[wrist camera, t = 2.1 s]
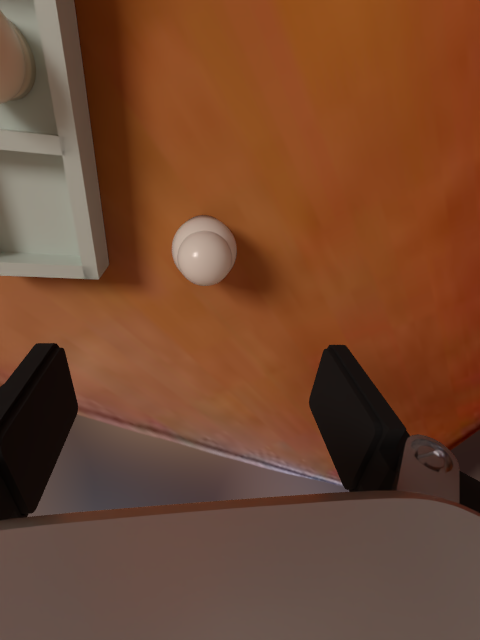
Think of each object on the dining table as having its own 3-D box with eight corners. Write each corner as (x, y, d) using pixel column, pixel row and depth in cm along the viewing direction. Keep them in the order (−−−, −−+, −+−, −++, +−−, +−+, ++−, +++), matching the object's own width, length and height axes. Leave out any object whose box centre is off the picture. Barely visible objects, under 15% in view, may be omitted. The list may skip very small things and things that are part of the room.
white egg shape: (235, 212, 24) (246, 234, 19) (231, 269, 26) (238, 302, 21) (173, 207, 23) (166, 228, 18) (174, 266, 26) (168, 300, 20)
